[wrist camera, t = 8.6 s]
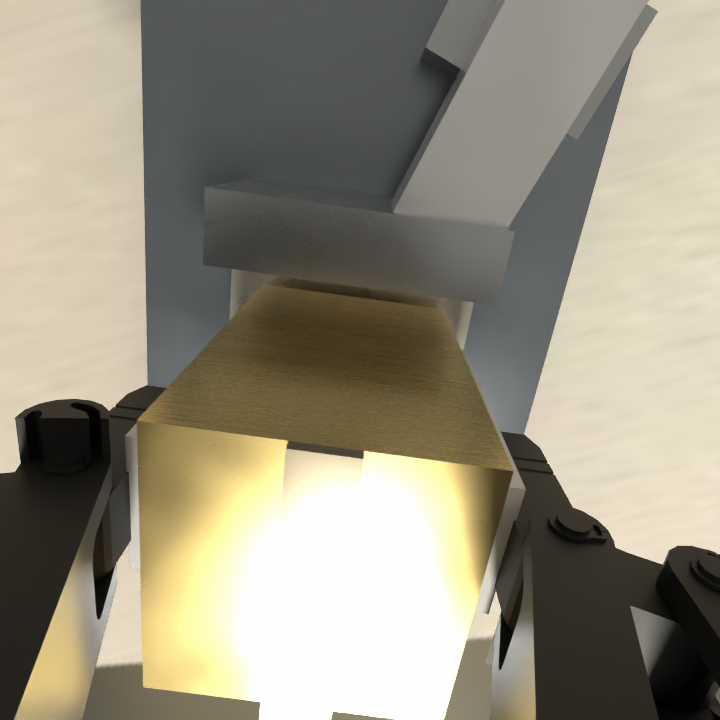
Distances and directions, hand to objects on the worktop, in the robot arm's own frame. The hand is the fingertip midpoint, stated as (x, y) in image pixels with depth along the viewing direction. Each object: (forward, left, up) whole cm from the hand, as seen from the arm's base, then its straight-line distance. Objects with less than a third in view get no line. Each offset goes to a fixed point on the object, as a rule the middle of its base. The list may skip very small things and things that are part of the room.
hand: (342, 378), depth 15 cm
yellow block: (0, 0, 0) cm, 0 cm away
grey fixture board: (0, 0, -2) cm, 2 cm away
